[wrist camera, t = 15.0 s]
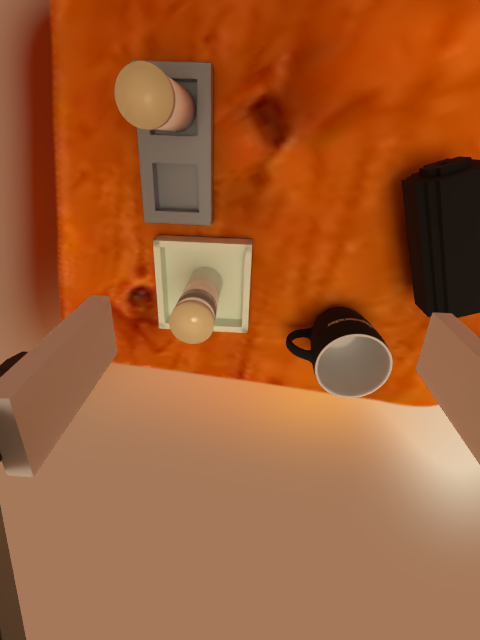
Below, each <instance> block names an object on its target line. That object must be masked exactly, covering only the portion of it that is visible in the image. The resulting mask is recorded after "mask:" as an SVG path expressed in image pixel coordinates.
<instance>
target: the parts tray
mask: <svg viewBox="0 0 480 640" xmlns="http://www.w3.org/2000/svg"><path fill="white" fill-rule="evenodd" d="M153 250H154V263H155V277H156V290H157V304H158V317H159V328H163V329H170V327H169V318H170V315H171V313H172V311H173V309H174V308H175V306H176V304H177V302H178V300H179V298H180V296H181V295H182V293H183V291H184V289H185V287H186V285H187V283H188V281H189V279H190V277H191V275H192V273H193V272H194V271H195V270H196V269H198V268H200V267H210V268H213V269H215V270H216V271H217V272H218V273H219V274H220V275H221V277H222V281H223V285H222V290H221V294H220V298H219V303H218V307H217V313H216V318H215V324H214V328H213V331H220V332H239V333H248V319H249V299H250V278H251V258H252V239H243V238H221V237H199V236H177V235H158V236H157V237H156V238H155V239H154V240H153Z"/></svg>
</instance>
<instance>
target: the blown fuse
mask: <svg viewBox="0 0 480 640" xmlns="http://www.w3.org/2000/svg"><path fill="white" fill-rule="evenodd" d="M222 285H223V281H222V277H221V275H220V274H219V273H218V272H217V271H216V270H215V269H213V268H210V267H200V268H198V269H196V270H195V271H194V272H193V273H192V275H191V277H190V279H189V281H188V283H187V285H186V287H185V289H184V291H183V293H182V295H181V296H180V298H179V300H178V302H177V304H176V306H175V308H174V309H173V311H172V313H171V315H170V318H169V327H170V330H171V332H172V333H173V335H174V336H175V337H176V338H177V339H179V340H180V341H182V342H185V343H188V344H198V343H201V342H203V341H205V340H207V339H208V338H209V337H210V336H211V334H212V332H213V328H214V324H215V318H216V313H217V307H218V303H219V298H220V294H221V290H222Z"/></svg>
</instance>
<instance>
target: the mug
mask: <svg viewBox="0 0 480 640" xmlns="http://www.w3.org/2000/svg"><path fill="white" fill-rule="evenodd" d="M300 337H306V338H309V339H310V340H311V350H304V349H301V348H299V347H297V346H296V345H294V344H293V343H292V340H294V339H296V338H300ZM286 345H287V348H288V349H289V351H290V352H291V353H293V354H294V355H296V356H298V357H300V358H303V359H306V360H308V361H310V362H311V363H312V364H313V369H314V373H315V376H316V379H317V381H318V383H319V384H320V385H321V387H322V388H323V389H324V390H326V391H327V392H329V393H330V394H332V395H335V396H338V397H343V398H357V397H362V396H365V395H368V394H370V393H372V392H374V391H376V390H377V389H378V388H380V387H381V386H382V385H383V384H384V383H385V382H386V380H387V379H388V377H389V375H390V373H391V370H392V365H393V360H392V355H391V352H390V350H389V348H388V346H387V345H386V343H385V342H384V340H383V339H382V337H381V336H380V335H379V333H378V332H377V331H376V330H375V329H374V328H373V326H372V325H371V324H370V323H369V322H368V321H367V320H366V319H365V318H363V317H362V316H361V315H360V314H358V313H357V312H355V311H353V310H351V309H347V308H333V309H330V310H327V311H325V312H324V313H323V314H321V315H320V316H319V317H318V318H317V320H316V321H315V323H314V325H313V327H311V328H307V329H300V330H295V331H293V332H291V333H290V334H289V335H288V336H287V339H286Z"/></svg>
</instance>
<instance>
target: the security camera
mask: <svg viewBox="0 0 480 640" xmlns="http://www.w3.org/2000/svg"><path fill="white" fill-rule="evenodd" d="M402 189H403V198H404V207H405V216H406V226H407V235H408V244H409V253H410V262H411V272H412V281H413V290H414V299H415V304H416V305H417V306H418V307H419V308H420V309H421V310H422V311H423V312H424V313H425V314H426V315H427V316H428V317H430V316H432V313H452V314H453V315H454V316H455V317H456V318H458V317H463V316H467V315H471V314H476V313H480V160H473V159H471V157H456V158H453V159H445V160H442V161H438V162H435V163H432V164H428V165H425V166H424V167H423V168H420V169H419V173H415V174H412V175H411V176H410V177H407V179H405V180H402Z"/></svg>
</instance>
